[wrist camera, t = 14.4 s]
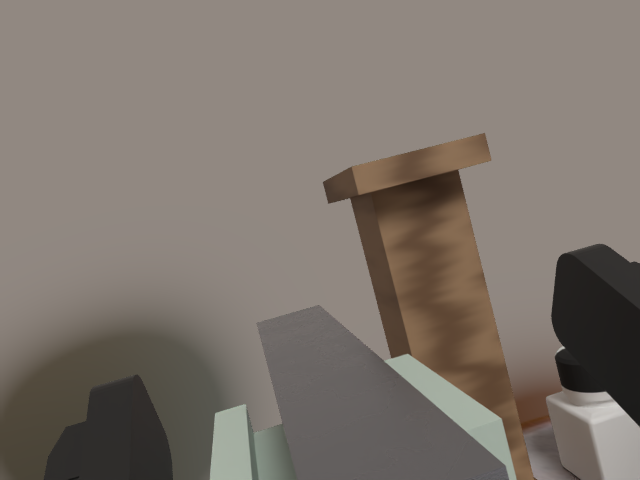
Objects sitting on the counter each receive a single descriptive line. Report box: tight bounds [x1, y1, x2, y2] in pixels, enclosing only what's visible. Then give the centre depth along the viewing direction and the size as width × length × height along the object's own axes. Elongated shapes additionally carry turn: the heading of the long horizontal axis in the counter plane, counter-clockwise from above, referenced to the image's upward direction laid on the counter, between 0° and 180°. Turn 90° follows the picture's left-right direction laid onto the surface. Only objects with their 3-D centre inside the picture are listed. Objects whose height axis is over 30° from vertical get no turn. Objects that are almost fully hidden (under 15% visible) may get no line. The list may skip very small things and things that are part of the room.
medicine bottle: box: [546, 346, 640, 480], centre depth 50 cm, size 7×7×12 cm
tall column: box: [323, 133, 537, 480], centre depth 46 cm, size 12×12×32 cm
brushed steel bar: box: [257, 305, 509, 480], centre depth 23 cm, size 4×24×4 cm, turn 8°
